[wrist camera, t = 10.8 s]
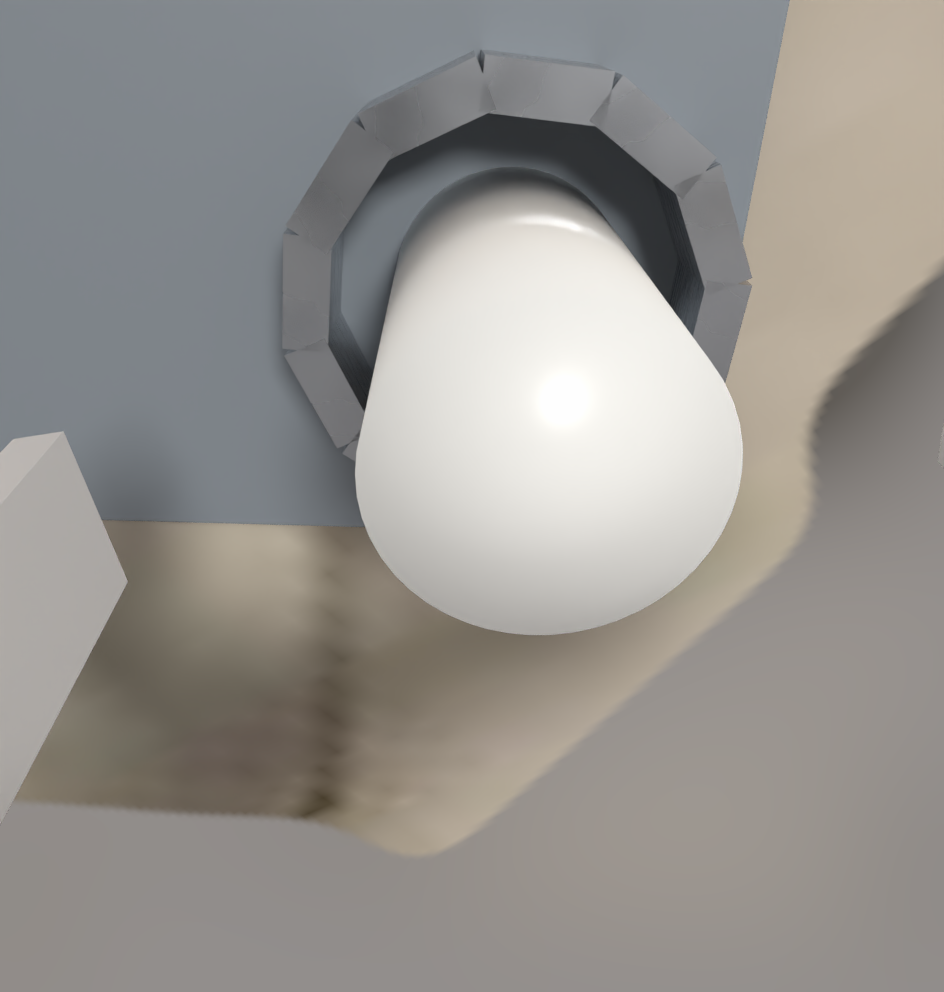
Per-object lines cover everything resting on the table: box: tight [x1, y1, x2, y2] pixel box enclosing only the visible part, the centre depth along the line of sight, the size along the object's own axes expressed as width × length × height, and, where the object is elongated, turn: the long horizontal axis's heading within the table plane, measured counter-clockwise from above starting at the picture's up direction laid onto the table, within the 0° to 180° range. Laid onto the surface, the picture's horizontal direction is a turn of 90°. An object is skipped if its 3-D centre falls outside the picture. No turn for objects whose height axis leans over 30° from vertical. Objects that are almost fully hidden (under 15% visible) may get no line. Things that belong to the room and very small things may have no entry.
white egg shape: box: [355, 167, 743, 635], centre depth 17 cm, size 6×6×10 cm
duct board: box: [0, 0, 790, 527], centre depth 21 cm, size 20×14×1 cm
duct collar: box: [282, 49, 752, 462], centre depth 20 cm, size 10×10×2 cm
